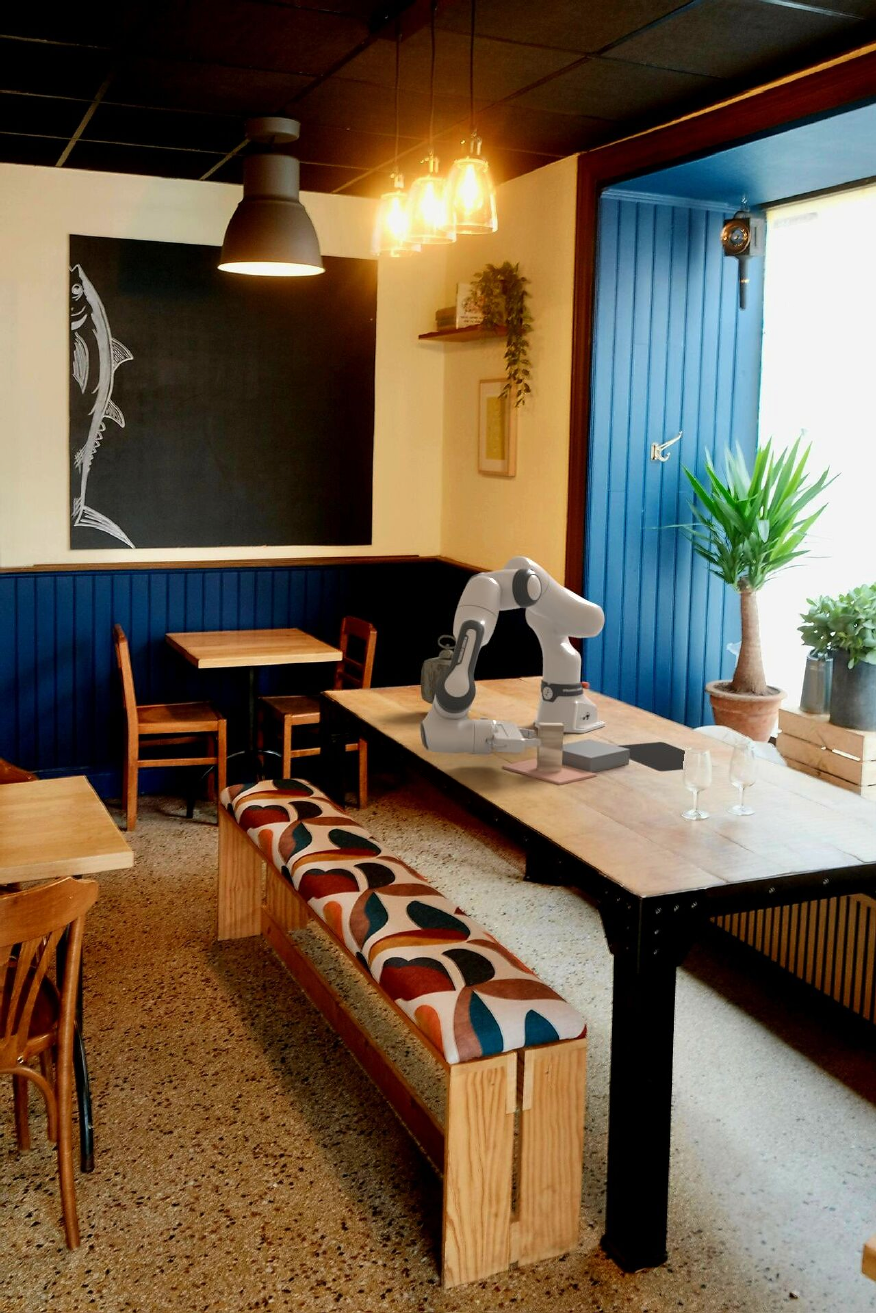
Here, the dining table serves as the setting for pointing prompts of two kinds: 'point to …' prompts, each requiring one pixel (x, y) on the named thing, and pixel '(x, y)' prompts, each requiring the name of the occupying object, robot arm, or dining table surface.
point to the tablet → (657, 755)
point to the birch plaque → (550, 747)
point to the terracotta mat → (549, 772)
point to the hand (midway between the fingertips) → (537, 737)
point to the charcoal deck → (594, 755)
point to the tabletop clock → (435, 671)
